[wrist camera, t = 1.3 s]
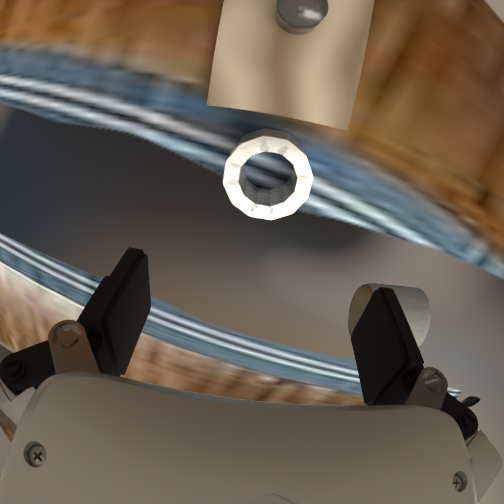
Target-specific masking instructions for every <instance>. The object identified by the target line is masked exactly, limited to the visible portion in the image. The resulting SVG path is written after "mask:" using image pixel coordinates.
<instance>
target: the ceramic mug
mask: <svg viewBox="0 0 504 504" xmlns="http://www.w3.org/2000/svg"><path fill="white" fill-rule="evenodd" d="M379 287H387V288H392V289H393V290H394V292H395V294H396V296H397V298H398V300H399V303H400V305H401V307H402V309H403V312H404V314H405V316H406V319H407V321H408V323H409V326H410V328H411V330H412V333H413V335H414V338H415V340H416V343H417V345H418V347H419V346H420V344H421V343H422V342H423V341H424V339H425V337H426V335H427V332H428V329H429V325H430V316H431V309H430V304H429V300H428V297H427V295H426V294H425V292H424V291H422V290H421V289H419V288H413V287H412V288H411V287H404V286H392V285H384V284H365V285H362V286H361V287H360V288H358V290H357V291H356V292H355V294H354V296H353V299H352V302H351V305H350V310H349V320H348V322H349V323H348V327H349V333H350V336H351V335H352V332H353V330H354V328H355V326H356V324H357V323H358V321H359V319H360V317H361V315H362V313H363V311H364V309H365V308H366V306H367V304H368V302H369V300H370V298H371V296H372V294H373V292H374V291H375V290H378V288H379Z"/></svg>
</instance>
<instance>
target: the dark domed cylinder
mask: <svg viewBox="0 0 504 504" xmlns="http://www.w3.org/2000/svg"><path fill="white" fill-rule="evenodd" d="M327 13H328V1H327V0H277V7H276V20H277V23H278V25H279V26H280V27H281V28H282V29H283V30H284V31H286V32H288V33H290V34H294V35H304V34H307V33H309V32H311V31H312V30H314V29H315V27H316V26H317V25H318V24H319V23H320V22H321V21H322V20H323V19H324V18H325V16H326V15H327Z"/></svg>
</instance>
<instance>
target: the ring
mask: <svg viewBox="0 0 504 504" xmlns="http://www.w3.org/2000/svg"><path fill="white" fill-rule="evenodd" d="M264 151H267V152H273V153H278V154H282V155H283V156H284V157H285V158H286V159H288V160H289V161H290V162H291V163H292V164H293V165H294V167H293V171H292V176H291V177H290V178H289V179H288V180H287V181H286V183H285V184H284V185H283V186H280V187H276V188H273V189H265V188H259V187H257V186H255V185H254V184H253V183H251V182H250V181H249V180H247V177H246V175H245V173H244V170H243V168H242V167H243V164H244V163H245V162H246V161H247V159H248V158H249V157H250V156H253V155H255V154H258V153H261V152H264ZM312 180H313V175H312V172H311V169H310V165H309V162H308V159H307V156H306V154H305V152H304V149H303V147H302V145H301V144H300V143H299V142H298V141H296V140H295V139H294V138H293V137H292V136H290V135H289V134H288V133H287V132H286V131H281V130H275V129H270V128H262V129H259V130H256V131H253V132H250V133H248V134H245V135H244V136H243V137H242V138H241V140H240V141H239V142H238V143H237V144H236V146H235V147H234V148H233V149H232V151H231V152H230V154H229V156H228V158H227V160H226V164H225V171H224V179H223V185H224V187H225V189H226V191H227V194H228V196H229V198H230V200H231V203H232V204H233V205H235V206H236V207H237V208H239V209H240V210H242V211H243V212H244V213H246V214H247V215H248V216H250V217H256V218H262V219H268V220H274V219H277V218H280V217H283V216H287V215H290V214H293V213H294V212H295V211H296V210H297V209H298V208H299V207H300V206H301V205H302V204H303V203H304V202H305V201H306V200H307V199H308V196H309V192H310V188H311V184H312Z"/></svg>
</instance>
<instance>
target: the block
mask: <svg viewBox="0 0 504 504" xmlns="http://www.w3.org/2000/svg"><path fill="white" fill-rule="evenodd" d="M327 1H328V13H327V15H326V16H325V18H324V19H323V20H322V21H321V22H320V23H319V24H318V25H317V26H316V27H315V29H314V30H312V31H311V32H309V33H307V34H304V35H294V34H290V33H288V32H286V31H284V30H283V29H282V28H281V27H280V26H279V25H278V23H277V20H276V7H277V0H224V3H223V8H222V13H221V18H220V24H219V29H218V35H217V41H216V47H215V53H214V59H213V65H212V72H211V79H210V86H209V93H208V100H207V105H210V106H219V107H227V108H235V109H242V110H249V111H255V112H262V113H268V114H273V115H279V116H284V117H289V118H294V119H299V120H304V121H308V122H313V123H317V124H322V125H326V126H330V127H334V128H338V129H342V130H345V131H348V128H349V124H350V120H351V115H352V111H353V107H354V103H355V98H356V94H357V89H358V85H359V80H360V75H361V71H362V66H363V61H364V56H365V51H366V46H367V40H368V35H369V29H370V24H371V18H372V12H373V5H374V0H327Z"/></svg>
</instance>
